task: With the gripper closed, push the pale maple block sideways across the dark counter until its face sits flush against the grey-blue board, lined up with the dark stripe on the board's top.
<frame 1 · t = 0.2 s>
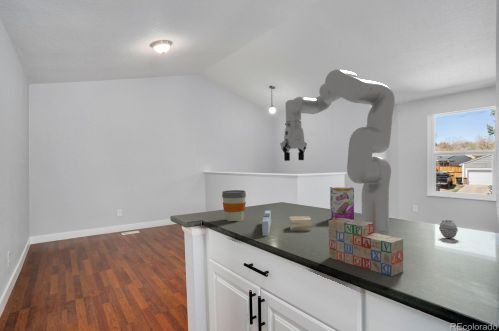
hand: (294, 160, 155), 31 cm above the worktop, tool pointing down, fingers open, 9 cm apart
grey-blue board: (267, 228, 144), on the worktop
rough grey ball: (448, 238, 120), on the worktop
maple block: (300, 229, 142), on the worktop
candy bar box: (342, 220, 160), on the worktop
stack of blocks: (363, 264, 94), on the worktop
reusable coffee cup: (234, 220, 165), on the worktop
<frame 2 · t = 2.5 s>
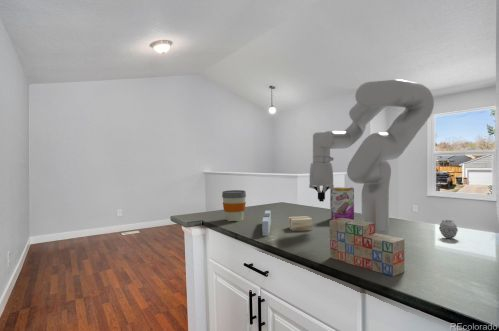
hand: (321, 201, 141), 12 cm above the worktop, tool pointing down, fingers closed
nothing on the worktop moved.
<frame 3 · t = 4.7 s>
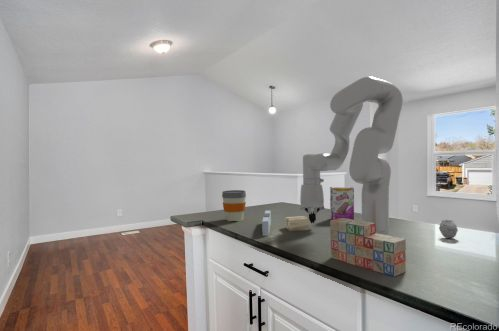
hand: (312, 222, 141), 3 cm above the worktop, tool pointing down, fingers closed
maple block: (297, 229, 142), on the worktop, touching gripper
everything else where it was.
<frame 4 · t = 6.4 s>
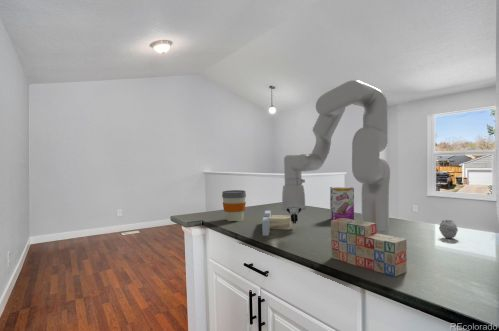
hand: (294, 222, 142), 3 cm above the worktop, tool pointing down, fingers closed
maple block: (280, 227, 145), on the worktop, touching grey-blue board, gripper
everything else where it was.
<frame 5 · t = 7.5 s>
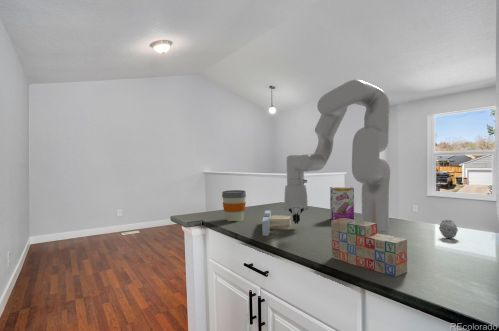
hand: (296, 223, 142), 3 cm above the worktop, tool pointing down, fingers closed
maple block: (280, 228, 145), on the worktop
everything else where it was.
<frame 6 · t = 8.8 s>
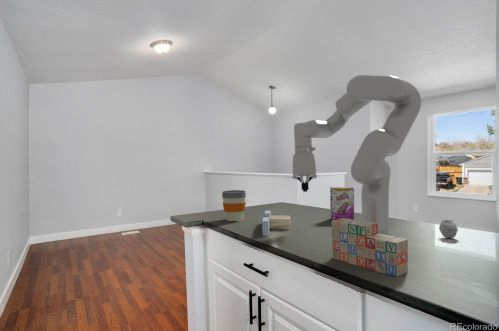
hand: (305, 191, 141), 17 cm above the worktop, tool pointing down, fingers closed
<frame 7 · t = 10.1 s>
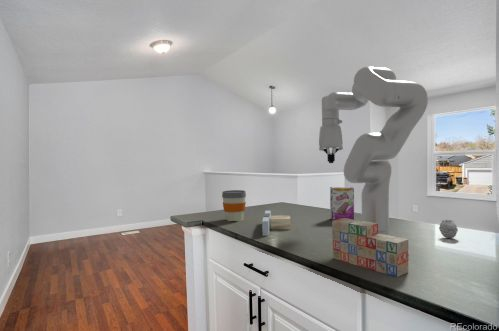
hand: (331, 162, 146), 29 cm above the worktop, tool pointing down, fingers closed
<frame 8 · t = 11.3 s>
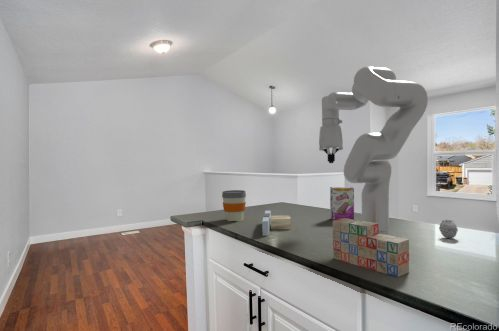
hand: (331, 162, 146), 29 cm above the worktop, tool pointing down, fingers closed
at the end: maple block 2.3 cm from the target spot on the worktop beside the grey-blue board, on the worktop; maple block tilted 0° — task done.
